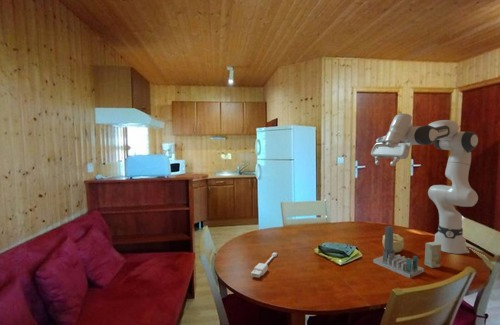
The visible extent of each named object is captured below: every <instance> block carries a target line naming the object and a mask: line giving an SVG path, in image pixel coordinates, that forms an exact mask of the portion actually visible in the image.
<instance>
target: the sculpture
mask: <svg viewBox="0 0 500 325" xmlns="http://www.w3.org/2000/svg"><path fill="white" fill-rule="evenodd" d="M382 246H383V249H385V234H384V235H382ZM404 246H405V243H404V238H403V237H402V236H401V235H399V233H397V234H396V233H394V232H393V249H394V250H395V253H400V252H402V251H403V250H404Z"/></svg>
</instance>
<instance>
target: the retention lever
mask: <svg viewBox="0 0 500 325" xmlns="http://www.w3.org/2000/svg"><path fill="white" fill-rule="evenodd" d="M393 233H394V226H393V225H387V226H384V235H385V248H384V250H385V251H387V252H388V255H389V254H391V253H393Z"/></svg>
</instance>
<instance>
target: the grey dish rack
mask: <svg viewBox="0 0 500 325" xmlns="http://www.w3.org/2000/svg"><path fill="white" fill-rule="evenodd" d="M372 262H373V264H376V265H378V266H379V267H380V266H381V267H383V268H386V269H388V270H390V271H392V272H393V273H397V274H399V275H402V276H404V277H406V278H409V279H411V278H413V277H415V276H419V275H420V274H423V273H424V271H425V269H424V267H422V266H419V257H418V256H416V255H413V256H412V259H411V258H410V257H407V258H406V256H405V255H403V256H401V254H396V255H395V250H394V249H393V253H391V254H388V252H387V251H385V249H384V250H382V256H378V257H376V258H373V261H372Z"/></svg>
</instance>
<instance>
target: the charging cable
mask: <svg viewBox="0 0 500 325" xmlns="http://www.w3.org/2000/svg"><path fill="white" fill-rule="evenodd" d="M276 257H278V252H276V251H275V252H273V253H271V257H269V259H267V261H266V262H265V263H263V262H259V263H258V264H257V265H255V266H254V267H253V270H252V271H251V272H250V276H251V277H253V278H254V277H255V278H260V277H261V276H262V277H263V276H264V274H265V273H266V272H267V271H268V267H269V266H268V263H270V261H271V260H272V259H274V258H276Z"/></svg>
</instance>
